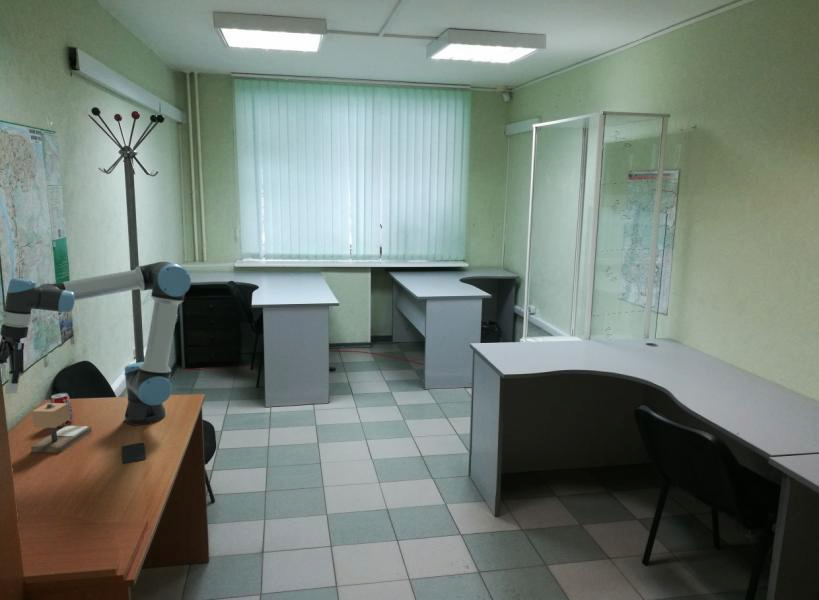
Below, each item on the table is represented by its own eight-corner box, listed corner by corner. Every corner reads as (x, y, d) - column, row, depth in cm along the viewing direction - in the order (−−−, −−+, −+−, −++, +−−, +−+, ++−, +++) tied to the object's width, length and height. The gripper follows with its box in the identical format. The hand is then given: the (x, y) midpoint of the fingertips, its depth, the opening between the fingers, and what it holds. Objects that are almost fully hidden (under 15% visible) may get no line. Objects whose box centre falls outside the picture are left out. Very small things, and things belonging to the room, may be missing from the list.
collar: (70, 418, 218) (68, 403, 217) (55, 427, 210) (53, 411, 209) (49, 418, 218) (47, 403, 217) (34, 427, 211) (31, 411, 210)
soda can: (64, 428, 232) (60, 399, 230) (48, 426, 234) (44, 397, 231) (77, 421, 239) (73, 392, 237) (62, 420, 241) (58, 391, 238)
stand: (91, 432, 228) (86, 392, 225) (60, 452, 211) (54, 410, 207) (64, 431, 229) (59, 391, 226) (31, 451, 212) (25, 409, 208)
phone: (121, 463, 201) (121, 446, 214) (122, 465, 201) (121, 448, 214) (145, 458, 204) (144, 442, 217) (146, 461, 204) (144, 444, 217)
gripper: (-10, 317, 202) (-20, 378, 203) (15, 331, 187) (4, 397, 187) (15, 319, 208) (5, 378, 209) (41, 332, 192) (30, 396, 193)
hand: (4, 387), depth 198 cm, fingers open, 13 cm apart
